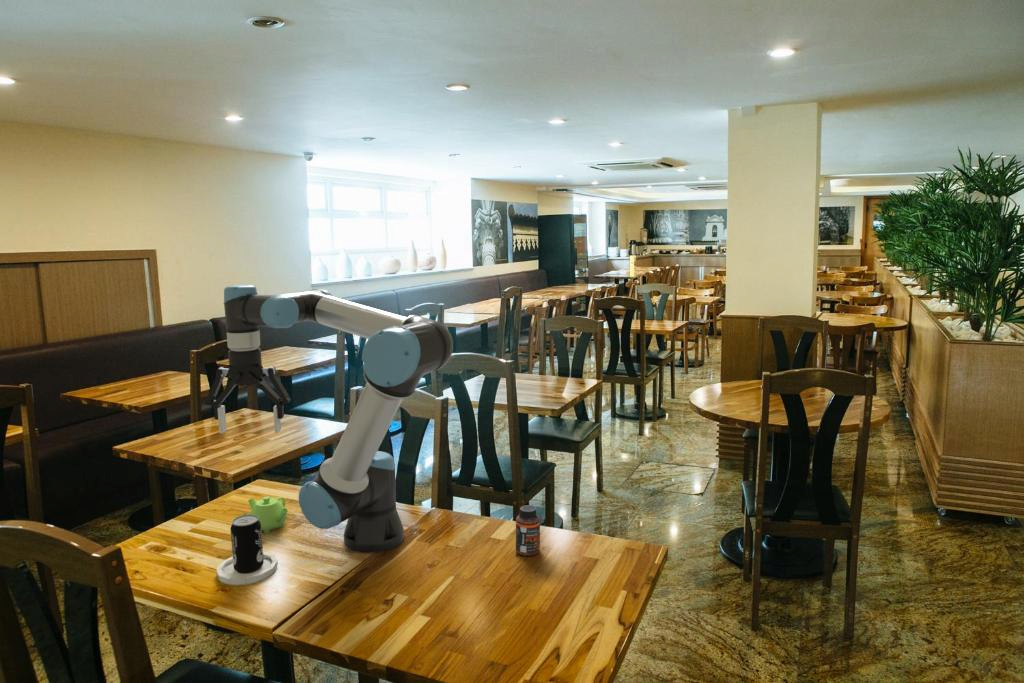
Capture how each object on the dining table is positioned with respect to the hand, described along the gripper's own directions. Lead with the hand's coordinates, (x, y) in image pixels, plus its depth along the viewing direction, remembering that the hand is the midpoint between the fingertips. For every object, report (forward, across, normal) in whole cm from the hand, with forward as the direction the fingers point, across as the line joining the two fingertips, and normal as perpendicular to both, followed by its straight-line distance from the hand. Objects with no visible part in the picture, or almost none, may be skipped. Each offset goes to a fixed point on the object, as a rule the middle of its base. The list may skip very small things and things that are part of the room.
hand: (250, 431), depth 174 cm
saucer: (+29, -3, +17) cm, 33 cm away
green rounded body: (+29, 0, -6) cm, 30 cm away
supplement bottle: (+29, -69, +10) cm, 76 cm away
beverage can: (+28, -3, +17) cm, 33 cm away
